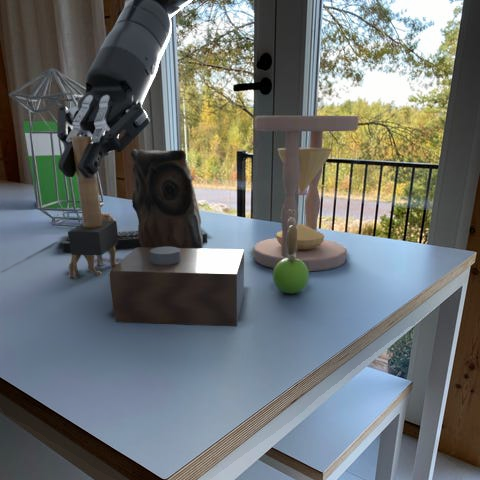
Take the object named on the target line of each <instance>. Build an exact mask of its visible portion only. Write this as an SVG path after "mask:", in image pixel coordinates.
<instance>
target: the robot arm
mask: <svg viewBox="0 0 480 480" xmlns="http://www.w3.org/2000/svg"><path fill="white" fill-rule="evenodd" d="M192 1H193V0H125V2H124V7H123V9H122V11H121V12H120V14H119V15H118V18H117V20H116V22H115V24H114V26H113V27H112V29H111V30H110V31H109V33H108V34H107V35H106V37H105V39H104V40H103V42H102V44H101V46H100V48H99V50H98V52H97V54H96V56H95V58H94V60H93V62H92V64H91V66H90V68H89V69H88V71H87V73H86V76H85V88H86V91H85V93H84V94H83V95H84V96H83V97H82V98H81V99H80V100H79V101H78V100H77V106H75V105H74V106H73V107H71V108H70V109H69V107H67V106H66V105H65V104H61V106H58V107H57V136H58V138H59V139H60V140H61V141H62V142H63V144H64V145H65V146H66V148H65V150H64V152H63V154H62V156H61V158H60V160H59V162H58V167H59V169H60V170H61V171H62V173H63V174H64V175H65V176H66V177H73V176H74V175H75V173H76V166H75V159H74V152H73V144H72V137H76V136H80V135H81V136H91V137H92V139H91V141H92V142H93V143H88V145H87V148H86V150H85V152H84V154H83V156H82V158H81V160H80V162H79V164H78V170H79V171H80V172H81V173H82V174H83V176H84V177H85V178H93V176H94V174H95V173H96V172H97V171H98V172H99V169H100V167H101V165H102V163H103V161H104V159H105V157H106V156H109V155H110V153H111V152H112V151H114V152H116V153H121V152H122V151H123V150H125V148H126V147H128V145H129V144H130V143H132V141H133V140H134V139H135V138H136V137H138V135H139V134H140V133H141V132H142V131H143V130H144V129H145V128H146V127H147V126H148V125H149V124H151V123H150V122H151V119H150V117H148V114H147V112H146V111H145V109H144V108H143V103H144V101H145V100H146V97H147V95H148V92H149V91H150V88H151V86H152V84H153V81H154V79H155V78H156V76H157V75H156V74H157V73H158V69H159V64H160V62H161V59H162V57H163V55H164V52H165V50H166V48H167V46H168V43H169V41H170V38H171V34H172V30H173V29H172V27H173V25H172V19H171V18H172V17H173V16H175V15H176V14H177V13H178V12H180V11H181V10H182V9H183V8H185V7H186V6H187V5H189V4H190V3H191V2H192ZM122 132H123V133H124V135H122V137H120V138H119V136H120V134H121V133H122Z"/></svg>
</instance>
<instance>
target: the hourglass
mask: <svg viewBox="0 0 480 480" xmlns="http://www.w3.org/2000/svg"><path fill="white" fill-rule="evenodd" d="M253 125H254V126H253V127H254V130H255V131H263V132H285V147H280V148H279V147H278V148H277V152H278V153H277V154H278V156H279V158H280V160H281V161H282V164H283V167H282V173H281V174H282V184H283V188H284V193H285V196H284V197H285V198H284V201H283V204H282V207H281V212H280V223H281V231H278V232H276V234H275V235H276V237H274V238H268V239H267V238H266V239H264V240H261V241H258V242H257V243H256V244H255V245H254V246H253V247H252V258H253V259H254V262H256V263H258V264H260V265H261V266H263V267H266V268H271V269H274V268H275V266H276V265H277V264H278V263H279V262H280V261H281V260H283V259H285V258H288V256H287V248H286V236H287V231H288V219H289V213H288V210H289V209H290V210H291V211H293V210H296V212H295V213H293V212H291V213H290V218H291V217H293V218H294V219H295V220H296V224H295V226H296V227H297V254H296V258H297V259H299V260H301V261H302V262H304V263H305V265H306V266H307V268H308V271H309V272H320V271H321V272H322V271H327V270H332V269H336V268H339V267H340V266H342V265H344V264H345V262H346V258H347V250H348V249H347V248H346V247H345V246H344V245H342V244H341V243H339V242H336V241H333V240H329V239H325V234H324V233H323V232H320V231H318V218H319V213H320V208H321V198H320V194H319V188H318V186H319V183H320V180H321V178H322V177H321V176H322V173H323V166H324V165H325V164H326V162H327V160H328V159H329V157H330V156H331V153H332V151H333V150H332V149H333V148H326V147H323V138H324V136H323V135H324V132H353V131H354V132H355V131H357V130H358V128H359V116H357V115H256V116H255V117H254V124H253ZM301 132H310V134H309V147H301V146H300V145H301V144H300V143H301ZM307 188H308V190H307ZM296 194H297V196H305V200H304V216H305V217H304V218H305V223H304V224H303V223H299V208H298V203H297V198H296ZM298 223H299V224H298Z"/></svg>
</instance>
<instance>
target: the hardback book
mask: <svg viewBox="0 0 480 480" xmlns="http://www.w3.org/2000/svg"><path fill="white" fill-rule="evenodd" d="M32 121H33V120H31V124H32ZM45 122H46V123H47V124H48V126H49V127H50V128H51V130H52V131H57V124H56V123H55V121H54V120H52V121H51V120H48V121H47V120H45ZM45 122H44V121H43V120H42V121H41V120H34V123H33V128H32V132H39V131H50V129H49V128H48V126H47V125H46V124H45ZM22 125H23V131H24V135H25V136H24V137H25V143H26V148H27V155H28V160H29V167H30V174H31V178H32V186H33V190H34V191H33V192H34V193H35V184H34V173H33V162H32V151H31V140H30V126H29V120H27V121H25V120H24V121H22ZM32 135H33V144H34V151H35V159H36V166H37V173H38V180H39V188H40V195H41V202H42V205H46V204H49V203H52V202H55V201H57V199H56V188H55V178H54V168H53V158H52V148H51V139H50V133H32ZM52 136H53V146H54V156H55V166H56V176H57V186H58V197H59V200H67V196H66V189H65V182H64V175H63V173H62V171H61V170H60V169H59V167H58V162H59V160H60V158H61V154H60V147H59V140H58V136H57V134H54V133H52ZM80 136H81V135H80ZM61 146H62V153H63V152H64V144H63V142H62V141H61ZM71 180H72V186H73V193H74V200H80V196H79V189H78V181H77V174H76V173H75V175H74V176H73V177H71ZM66 181H67V188H68V196H69V200H72V196H71V189H70V183H69V177H66ZM37 191H38V190H37ZM34 198H35V199H36V195H35V194H34ZM38 202H39V198H38ZM60 205H61V206H62V208H63V209H67V202H62V203H60ZM39 206H40V205H39ZM75 206H76V208H81V203H80V202H75ZM44 208H57V209H61V207H60V206H59V204H58V203H56V204H53V205H50V206H47V207H44ZM71 208H73V202H69V209H71Z"/></svg>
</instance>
